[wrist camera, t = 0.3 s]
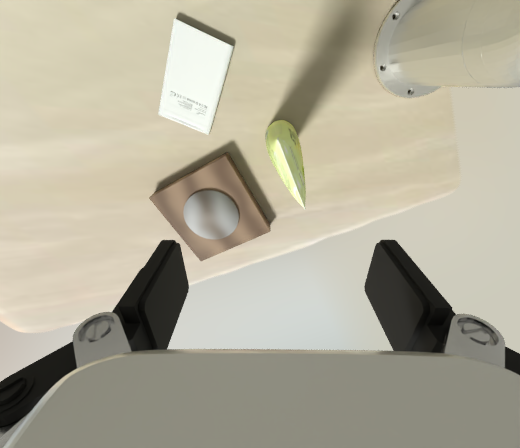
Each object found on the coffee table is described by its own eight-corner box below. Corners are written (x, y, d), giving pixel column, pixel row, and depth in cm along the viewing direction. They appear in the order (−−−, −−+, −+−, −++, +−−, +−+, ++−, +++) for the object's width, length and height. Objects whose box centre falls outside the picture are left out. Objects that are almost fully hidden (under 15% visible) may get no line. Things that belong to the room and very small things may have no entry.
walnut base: (227, 152, 41) (224, 156, 38) (270, 224, 48) (270, 232, 45) (154, 192, 45) (147, 199, 43) (203, 253, 52) (200, 262, 50)
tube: (304, 129, 39) (333, 166, 22) (289, 158, 41) (305, 211, 24) (273, 113, 38) (277, 138, 21) (259, 143, 40) (253, 188, 23)
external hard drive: (234, 47, 34) (210, 133, 40) (177, 20, 33) (161, 113, 39) (233, 46, 33) (208, 135, 39) (173, 17, 31) (157, 114, 37)
